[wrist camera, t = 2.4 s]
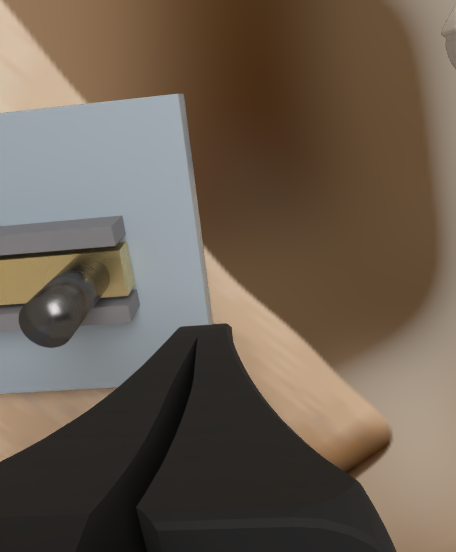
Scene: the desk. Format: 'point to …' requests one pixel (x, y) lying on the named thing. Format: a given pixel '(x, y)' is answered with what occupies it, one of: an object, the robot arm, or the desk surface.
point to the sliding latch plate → (103, 232)
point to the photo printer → (451, 36)
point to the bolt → (62, 288)
